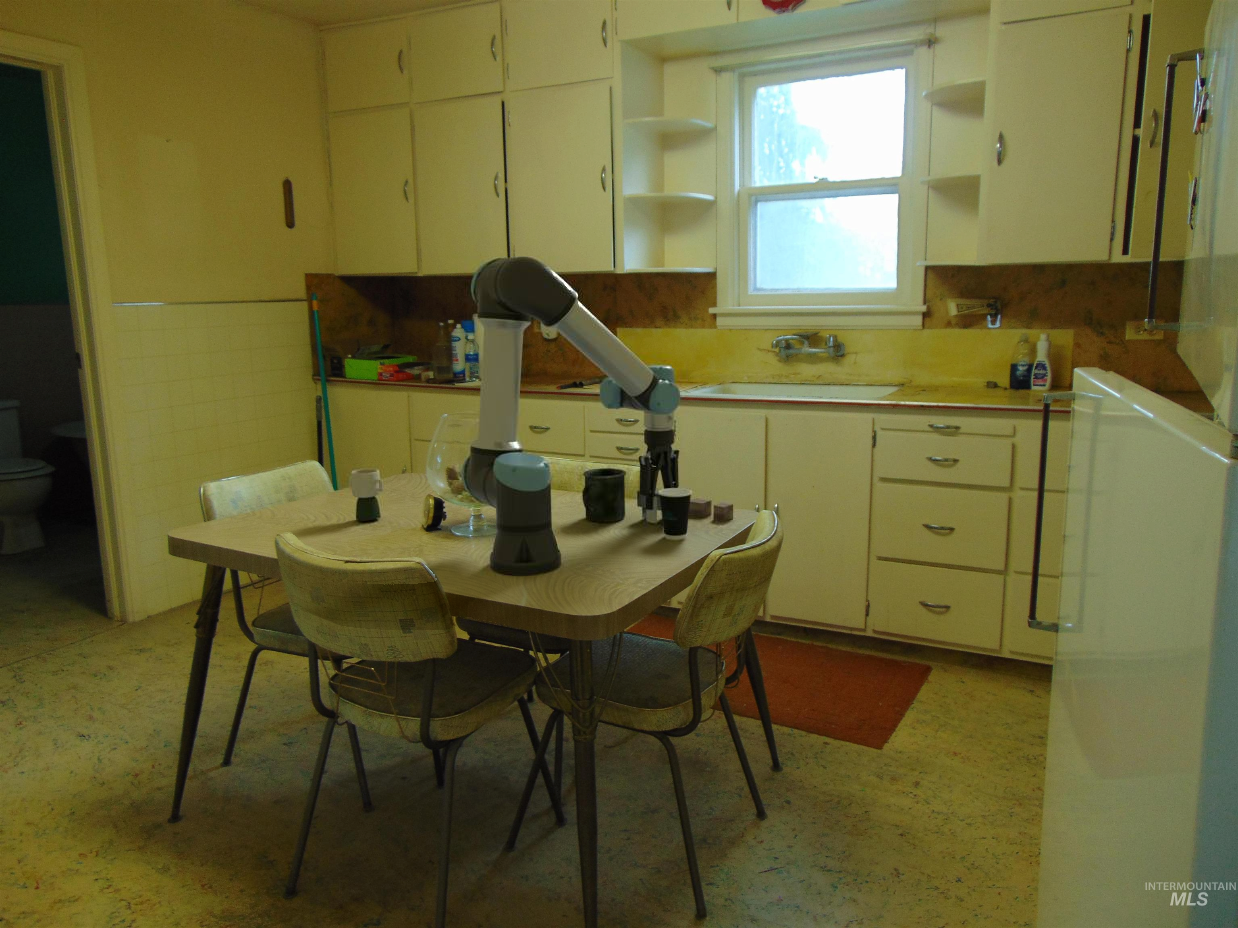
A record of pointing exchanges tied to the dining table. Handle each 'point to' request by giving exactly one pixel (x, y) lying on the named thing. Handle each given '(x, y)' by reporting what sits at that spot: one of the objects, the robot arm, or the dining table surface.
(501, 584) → the dining table surface
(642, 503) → the clip
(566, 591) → the dining table surface
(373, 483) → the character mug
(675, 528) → the dixie cup
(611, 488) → the mug
